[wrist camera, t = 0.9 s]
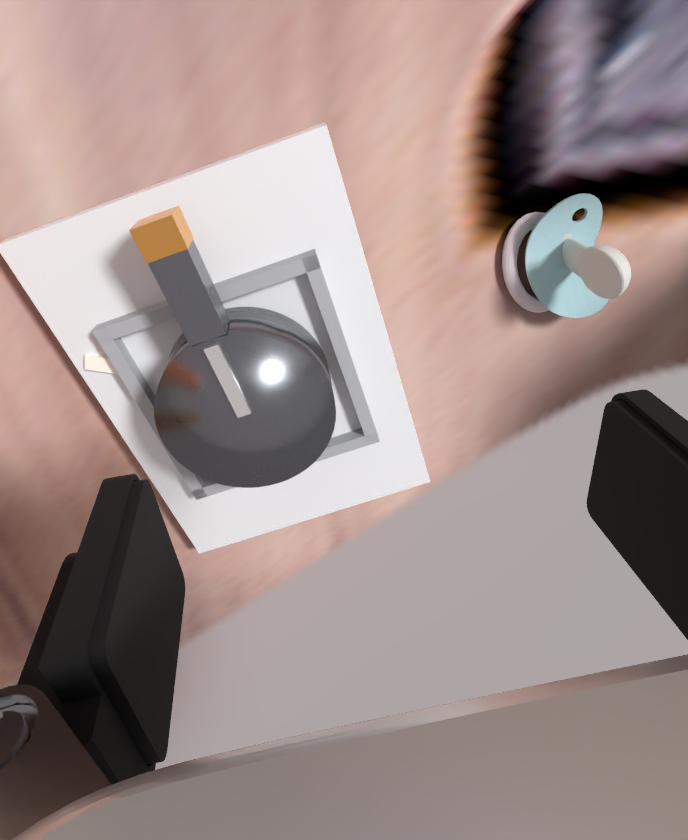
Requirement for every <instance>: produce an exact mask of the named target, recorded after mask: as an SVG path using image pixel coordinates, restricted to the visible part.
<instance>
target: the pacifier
mask: <svg viewBox="0 0 688 840" xmlns="http://www.w3.org/2000/svg"><path fill="white" fill-rule="evenodd" d="M580 208H584V209H585V213H584V215H583V217H582V218H581V219H579V220H578V221H573V220H572V216H573V214H574V213H575V212H576V211H577V210H578V209H580ZM602 214H603V212H602V205H601V202H600V200H599V199H598V198H597V197H596V196H593V195H591V194H577V195H574V196H571V197H568V198H566V199H564V200H563V201H561V202H559V203H558V204H556V205H555V206H554V207H552V208H551V209H550V210H549V211H548V212H547V213H541V212H533V213H529V214H526V215H524V216H523V217H521V218H520V219H518V220H517V221H516V223H515V224H514V225H513V226H512V228H511V229H510V231H509V233H508V235H507V237H506V240H505V243H504V248H503V252H502V270H503V276H504V281H505V283H506V286H507V288H508V291H509V293H510V294H511V296H512V297H513V299H514V300H515V301H516V302H517V303H518V304H519V305H520V306H521V307H522V308H524V309H526V310H528V311H530V312H536V313H542V312H546V311H552V312H553V313H555V314H557V315H560V316H564V317H571V318H582V317H588V316H590V315H593V314H595V313H597V312H598V311H600V310H601V309H602V308H603V307H604V306H605V305H606V303H607V302H608V301H609V299H614V298H616V297H618V296H620V295H621V294H622V293H623V292H624V291H625V290H626V288H627V287H628V285H629V282H630V279H631V268H630V265H629V262H628V261H627V259H626V258H625V256H624V255H623V254H622V253H621V252H619V251H618V250H616V249H614V248H612V247H609V246H604V245H596V246H595V245H594V241H595V238H596V236H597V234H598V232H599V229H600V226H601V222H602ZM532 229H533V230H532ZM531 230H532V231H531ZM529 231H531V234H530V236H529V238H528V241H527V245H526V250H525V269H526V274H527V278H528V281H529V283H530V286H531V288H532V290H533V291H534V293H535V295H536V296H537V297H533V296H531V295H530V294H528V293H527V292H526V291H525V289H524V287H523V286H522V284H521V281H520V278H519V275H518V269H517V255H518V250H519V246H520V244H521V242H522V240H523V238H524V237H525V235H526V234H527V233H528V232H529ZM585 285H586V286H587V287H588V288H589V289H587V288H586V286H585Z"/></svg>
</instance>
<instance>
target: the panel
mask: <svg viewBox="0 0 688 840" xmlns="http://www.w3.org/2000/svg"><path fill="white" fill-rule="evenodd" d="M176 206H179V207H180V209H181V211H182V213H183V216H184V218H185V220H186V222H187V224H188V226H189V229H190V231H191V233H192V235H193V237H194V238H193V240H194V242H195V245H196V247H197V249H198V251H199V253H200V256H201V258H202V260H203V262H204V264H205V266H206V269H207V271H208V273H209V275H210V277H211V280H212V282H213V284H214V286H215V288H216V290H217V293H218V295H219V297H220V299H221V301H222V304H223V306H224V308H225V309H226V308H233V307H258V308H264V309H268V310H272V311H275V312H278V313H280V314H283V315H285V316H287V317H289V318H291V319H293V320H294V321H296V322H297V323H299V324H300V325H301V326H303V327H304V328H305V329H306V330H307V331H308V332H309V333H310V334H311V335H312V336H313V337H314V338H315V340H316V341H317V342H318V344H319V345H320V347H321V349H322V351H323V353H324V355H325V357H326V360H327V363H328V367H329V372H330V377H331V383H332V388H333V394H334V399H335V406H336V421H335V427H334V431H333V434H332V437H331V439H330V441H329V443H328V445H327V447H326V449H325V450H324V452H323V453H322V454H321V456H320V457H319V458H318V459H317V460H316V461H315V462H314V463H313V464H312V465H311V466H310V467H308V468H307V469H306V470H304V471H303V472H301V473H300V474H298V475H296V476H294V477H292V478H290V479H288V480H286V481H283V482H280V483H277V484H273V485H269V486H263V487H254V488H241V487H231V486H225V485H221V484H218V483H214V482H211V481H209V480H206V479H204V478H202V477H200V476H198V475H196V474H194V473H192V472H191V471H189V470H188V469H186V468H185V467H184V466H183V465H181V464H180V463H179V462H178V461H177V460H176V459H175V458H174V457H173V456H172V455H171V454H170V452H169V451H168V450H167V448H166V447H165V445H164V444H163V442H162V440H161V438H160V436H159V433H158V431H157V428H156V424H155V418H154V400H155V394H156V391H157V388H158V384H159V382H160V379H161V376H162V374H163V371H164V368H165V366H166V363H167V360H168V357H169V355H170V352H171V350H172V348H173V346H174V344H175V343H176V341H177V340H178V338H179V337H180V335H181V334H182V333H183V331H182V329H181V327H180V325H179V323H178V321H177V319H176V317H175V315H174V314H173V312H172V310H171V308H170V306H169V304H168V302H167V300H166V298H165V296H164V294H163V292H162V290H161V288H160V286H159V285H158V283H157V281H156V279H155V277H154V275H153V273H152V271H151V269H150V267H149V265H148V263H147V264H146V262H145V260H144V259H143V257H142V255H141V253H140V251H139V249H138V247H137V245H136V243H135V241H134V239H133V237H132V235H131V233H130V232H129V230H130V229H131V228H132V227H133V225H134V224H135V223H136V222H137V221H138V220H140V219H143V218H145V217H148V216H151V215H154V214H156V213H159V212H162V211H165V210H168V209H170V208H173V207H176ZM0 253H1V255H2V256H3V258H4V259H5V261H6V262H7V264H8V265H9V267H10V268H11V270H12V271H13V273H14V274H15V276H16V277H17V279H18V280H19V282H20V283H21V285H22V287H23V288H24V290H25V291H26V293H27V294H28V296H29V297H30V299H31V300H32V302H33V303H34V305H35V306H36V308H37V309H38V311H39V312H40V314H41V315H42V317H43V318H44V320H45V321H46V323H47V324H48V326H49V327H50V329H51V330H52V332H53V333H54V335H55V336H56V338H57V339H58V341H59V342H60V344H61V345H62V347H63V348H64V350H65V351H66V353H67V355H68V356H69V358H70V359H71V361H72V362H73V364H74V365H75V367H76V368H77V370H78V371H79V373H80V374H81V376H82V377H83V379H84V380H85V382H86V383H87V385H88V386H89V388H90V389H91V391H92V392H93V394H94V395H95V397H96V398H97V400H98V401H99V403H100V404H101V406H102V407H103V409H104V410H105V412H106V413H107V415H108V416H109V418H110V419H111V421H112V423H113V424H114V426H115V427H116V429H117V430H118V432H119V433H120V435H121V436H122V438H123V439H124V441H125V442H126V444H127V445H128V447H129V448H130V450H131V451H132V453H133V454H134V456H135V457H136V459H137V460H138V462H139V463H140V465H141V466H142V468H143V469H144V471H145V472H146V474H147V475H148V477H149V478H150V480H151V481H152V483H153V484H154V486H155V487H156V489H157V491H158V492H159V494H160V495H161V497H162V498H163V500H164V501H165V503H166V504H167V506H168V507H169V509H170V510H171V512H172V513H173V515H174V516H175V518H176V519H177V521H178V522H179V524H180V525H181V527H182V528H183V530H184V531H185V533H186V534H187V536H188V537H189V539H190V540H191V542H192V543H193V545H194V546H195V548H196V549H197V551H198V552H199V554H200V553H203V552H206V551H209V550H212V549H216V548H219V547H222V546H225V545H229V544H232V543H235V542H238V541H241V540H245V539H248V538H251V537H254V536H258V535H261V534H264V533H267V532H270V531H274V530H277V529H280V528H283V527H287V526H290V525H293V524H296V523H299V522H303V521H306V520H309V519H312V518H316V517H319V516H322V515H325V514H328V513H332V512H335V511H338V510H341V509H345V508H348V507H351V506H354V505H357V504H361V503H364V502H367V501H370V500H374V499H377V498H380V497H383V496H386V495H390V494H393V493H396V492H399V491H403V490H406V489H409V488H412V487H415V486H419V485H422V484H425V483H428V482H430V479H429V476H428V472H427V469H426V465H425V462H424V458H423V455H422V452H421V448H420V445H419V441H418V438H417V434H416V431H415V427H414V424H413V421H412V417H411V414H410V410H409V407H408V403H407V400H406V397H405V393H404V390H403V386H402V383H401V379H400V376H399V372H398V369H397V366H396V362H395V359H394V355H393V352H392V348H391V345H390V342H389V338H388V335H387V331H386V328H385V324H384V321H383V318H382V314H381V311H380V307H379V304H378V300H377V297H376V293H375V290H374V287H373V283H372V280H371V276H370V273H369V269H368V266H367V263H366V259H365V256H364V252H363V249H362V245H361V242H360V239H359V235H358V232H357V228H356V225H355V221H354V218H353V214H352V211H351V208H350V204H349V201H348V197H347V194H346V190H345V187H344V184H343V180H342V177H341V173H340V170H339V166H338V163H337V160H336V156H335V153H334V149H333V146H332V142H331V139H330V135H329V132H328V129H327V125H326V124H325V123H324V122H323V123H321V124H318V125H315V126H313V127H310V128H307V129H304V130H302V131H299V132H296V133H293V134H291V135H288V136H285V137H282V138H280V139H277V140H274V141H271V142H269V143H266V144H263V145H261V146H258V147H255V148H252V149H250V150H247V151H244V152H241V153H239V154H236V155H233V156H230V157H228V158H225V159H222V160H220V161H217V162H214V163H211V164H209V165H206V166H203V167H200V168H198V169H195V170H192V171H189V172H187V173H184V174H181V175H178V176H176V177H173V178H170V179H168V180H165V181H162V182H159V183H157V184H154V185H151V186H148V187H146V188H143V189H140V190H137V191H135V192H132V193H129V194H127V195H124V196H121V197H118V198H116V199H113V200H110V201H107V202H105V203H102V204H99V205H96V206H94V207H91V208H88V209H85V210H83V211H80V212H77V213H75V214H72V215H69V216H66V217H64V218H61V219H58V220H55V221H53V222H50V223H47V224H44V225H42V226H39V227H36V228H33V229H31V230H28V231H25V232H23V233H20V234H17V235H14V236H12V237H9V238H7V239H5V240H4V241H2V242H0Z"/></svg>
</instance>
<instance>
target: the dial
mask: <svg viewBox="0 0 688 840" xmlns="http://www.w3.org/2000/svg"><path fill="white" fill-rule="evenodd" d="M129 232H130V233H131V235H132V237H133V239H134V241H135V243H136V245H137V247H138V249H139V251H140V253H141V255H142V257H143V259H144V260H145V262H146V264H147V263H148V265H149V267H150V269H151V271H152V273H153V275H154V277H155V279H156V281H157V283H158V285H159V286H160V288H161V290H162V292H163V294H164V296H165V298H166V300H167V302H168V304H169V306H170V308H171V310H172V312H173V314H174V315H175V317H176V319H177V321H178V323H179V325H180V327H181V329H182V331H183V333H182V334H181V335H180V337H179V338H178V340H177V341H176V343H175V344H174V346H173V348H172V350H171V352H170V355H169V357H168V360H167V363H166V366H165V368H164V371H163V374H162V376H161V379H160V382H159V384H158V388H157V391H156V394H155V400H154V418H155V424H156V428H157V431H158V433H159V436H160V438H161V440H162V442H163V444H164V445H165V447H166V448H167V450H168V451H169V452H170V454H171V455H172V456H173V457H174V458H175V459H176V460H177V461H178V462H179V463H180V464H181V465H183V466H184V467H185V468H186V469H188V470H189V471H191V472H192V473H194V474H196V475H198V476H200V477H202V478H204V479H206V480H209V481H211V482H214V483H218V484H221V485H225V486H231V487H241V488H254V487H263V486H269V485H273V484H277V483H280V482H283V481H286V480H288V479H290V478H292V477H294V476H296V475H298V474H300V473H301V472H303V471H304V470H306V469H307V468H308V467H310V466H311V465H312V464H313V463H314V462H315V461H316V460H317V459H318V458H319V457H320V456H321V454H322V453H323V452H324V450H325V449H326V447H327V445H328V443H329V441H330V439H331V437H332V434H333V431H334V427H335V421H336V406H335V399H334V394H333V388H332V383H331V377H330V372H329V367H328V363H327V360H326V357H325V355H324V353H323V351H322V349H321V347H320V345H319V344H318V342H317V341H316V340H315V338H314V337H313V336H312V335H311V334H310V333H309V332H308V331H307V330H306V329H305V328H304V327H303V326H301V325H300V324H299V323H297V322H296V321H294V320H293V319H291V318H289V317H287V316H285V315H283V314H280V313H278V312H275V311H272V310H268V309H264V308H258V307H233V308H226V309H225V308H224V306H223V304H222V301H221V299H220V297H219V295H218V293H217V290H216V288H215V286H214V284H213V282H212V280H211V277H210V275H209V273H208V271H207V269H206V266H205V264H204V262H203V260H202V258H201V256H200V253H199V251H198V249H197V247H196V245H195V242H194V240H193V238H194V237H193V235H192V233H191V231H190V229H189V226H188V224H187V222H186V220H185V218H184V216H183V213H182V211H181V209H180V207H179V206H176V207H173V208H170V209H168V210H165V211H162V212H159V213H156V214H154V215H151V216H148V217H145V218H143V219H140V220H138V221H137V222H136V223H135V224H134V225H133V227H132V228H131V229H130V230H129Z"/></svg>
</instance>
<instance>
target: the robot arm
mask: <svg viewBox="0 0 688 840" xmlns="http://www.w3.org/2000/svg"><path fill="white" fill-rule="evenodd" d="M587 508H588V511H589V514H590V516H591V517H592V519H593V520H594V521H595V523H596V524H597V525H598V527H599V528H600V529H601V530H602V532H603V533H604V534H605V535H606V537H607V538H608V539H609V541H610V542H611V543H612V544H613V545H614V547H615V548H616V549H617V551H618V552H619V553H620V554H621V556H622V557H623V558H624V559H625V561H626V562H627V563H628V565H629V566H630V567H631V568H632V570H633V571H634V572H635V574H636V575H637V576H638V577H639V579H640V580H641V581H642V582H643V584H644V585H645V586H646V588H647V589H648V590H649V591H650V593H651V594H652V595H653V596H654V598H655V599H656V600H657V601H658V603H659V604H660V605H661V606H662V608H663V609H664V610H665V612H666V613H667V614H668V615H669V617H670V618H671V619H672V621H673V622H674V623H675V624H676V626H677V627H678V628H679V629H680V631H681V632H682V633H683V634H684V636H685V637H686V638H687V640H688V421H687V420H686V419H684V418H683V417H682V416H680V415H679V414H678V413H676V412H675V411H674V410H673V409H671V408H670V407H669V406H667V405H666V404H665V403H664V402H662V401H661V400H660V399H658V398H657V397H656V396H655V395H653V394H652V393H651V392H649V391H647V390H638V391H631V392H625V393H619V394H617V395H615V396H614V397H613V398H612V401H611V402H609V403H607V404H606V406H605V409H604V413H603V419H602V424H601V429H600V434H599V440H598V445H597V450H596V455H595V460H594V466H593V471H592V476H591V481H590V487H589V492H588V497H587ZM184 597H185V581H184V576H183V572H182V570H181V567H180V564H179V561H178V559H177V556H176V553H175V550H174V548H173V545H172V542H171V539H170V537H169V534H168V531H167V528H166V526H165V523H164V520H163V518H162V515H161V512H160V509H159V507H158V504H157V501H156V498H155V496H154V493H153V490H152V487H151V485H150V483H149V481H148V480H139V478H138V476H137V475H135V474H131V475H125V476H119V477H113V478H107V479H104V480H103V482H102V484H101V487H100V490H99V493H98V495H97V498H96V501H95V504H94V507H93V510H92V513H91V515H90V518H89V521H88V524H87V527H86V530H85V533H84V536H83V538H82V541H81V544H80V547H79V550H78V553H72V554H69V555H68V556H67V557H66V558H65V560H64V562H63V564H62V566H61V569H60V571H59V574H58V577H57V579H56V582H55V585H54V587H53V590H52V593H51V595H50V598H49V601H48V604H47V606H46V609H45V612H44V614H43V617H42V620H41V622H40V625H39V628H38V630H37V633H36V636H35V638H34V641H33V644H32V647H31V649H30V652H29V655H28V657H27V660H26V663H25V665H24V668H23V671H22V673H21V676H20V679H19V682H18V684H17V685H15V686H8V687H5V688H2V689H0V840H688V655H683V656H678V657H673V658H669V659H664V660H658V661H653V662H649V663H643V664H638V665H634V666H629V667H624V668H619V669H614V670H609V671H604V672H600V673H594V674H589V675H585V676H580V677H575V678H570V679H565V680H560V681H555V682H550V683H545V684H541V685H536V686H531V687H527V688H521V689H516V690H512V691H507V692H502V693H497V694H493V695H488V696H483V697H478V698H473V699H468V700H464V701H459V702H454V703H449V704H444V705H440V706H435V707H430V708H425V709H421V710H416V711H411V712H406V713H402V714H397V715H392V716H388V717H383V718H379V719H374V720H369V721H364V722H360V723H355V724H350V725H345V726H341V727H337V728H331V729H327V730H322V731H317V732H313V733H308V734H304V735H299V736H294V737H289V738H285V739H280V740H276V741H272V742H267V743H263V744H259V745H255V746H250V747H246V748H241V749H237V750H233V751H228V752H224V753H220V754H215V755H211V756H207V757H202V758H198V759H194V760H190V761H186V762H182V763H179V764H175V765H172V766H168V767H165V768H161V769H157V770H155V765H156V763H157V762H162V761H164V760H165V757H166V753H167V747H168V738H169V728H170V720H171V711H172V703H173V694H174V685H175V676H176V668H177V667H176V666H177V659H178V650H179V641H180V632H181V624H182V615H183V606H184Z"/></svg>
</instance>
